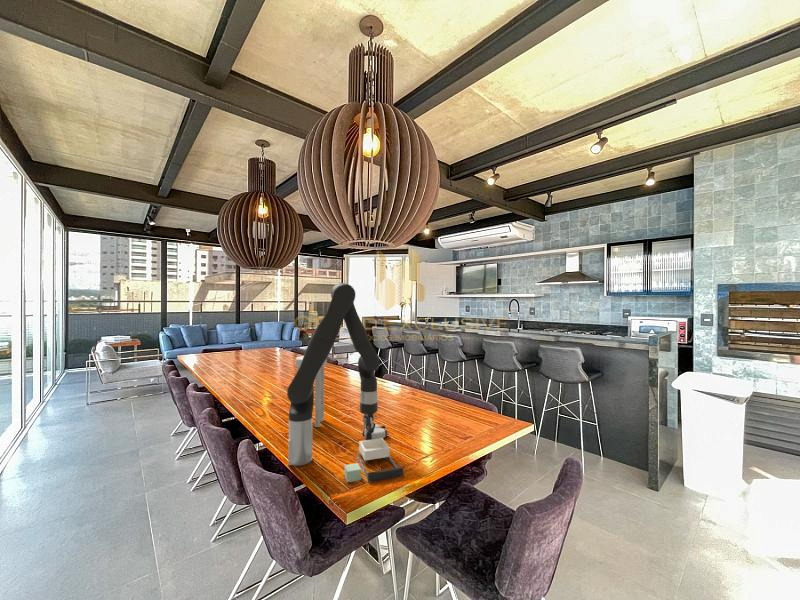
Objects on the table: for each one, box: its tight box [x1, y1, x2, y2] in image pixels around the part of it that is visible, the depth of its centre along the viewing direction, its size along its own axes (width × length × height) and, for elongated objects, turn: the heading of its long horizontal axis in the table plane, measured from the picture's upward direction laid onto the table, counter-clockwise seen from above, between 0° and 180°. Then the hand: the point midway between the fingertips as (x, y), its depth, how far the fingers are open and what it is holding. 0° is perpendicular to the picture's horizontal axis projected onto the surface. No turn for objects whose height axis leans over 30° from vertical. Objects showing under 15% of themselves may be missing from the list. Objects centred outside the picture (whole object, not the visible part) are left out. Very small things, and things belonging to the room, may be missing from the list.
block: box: [344, 462, 362, 483], centre depth 119 cm, size 5×5×5 cm
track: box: [355, 453, 404, 483], centre depth 129 cm, size 13×22×4 cm, turn 19°
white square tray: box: [358, 438, 391, 465], centre depth 134 cm, size 10×10×6 cm
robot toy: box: [361, 423, 389, 439], centre depth 159 cm, size 12×4×15 cm
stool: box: [294, 355, 328, 428], centre depth 176 cm, size 16×16×35 cm
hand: (368, 441), depth 143 cm, fingers closed
